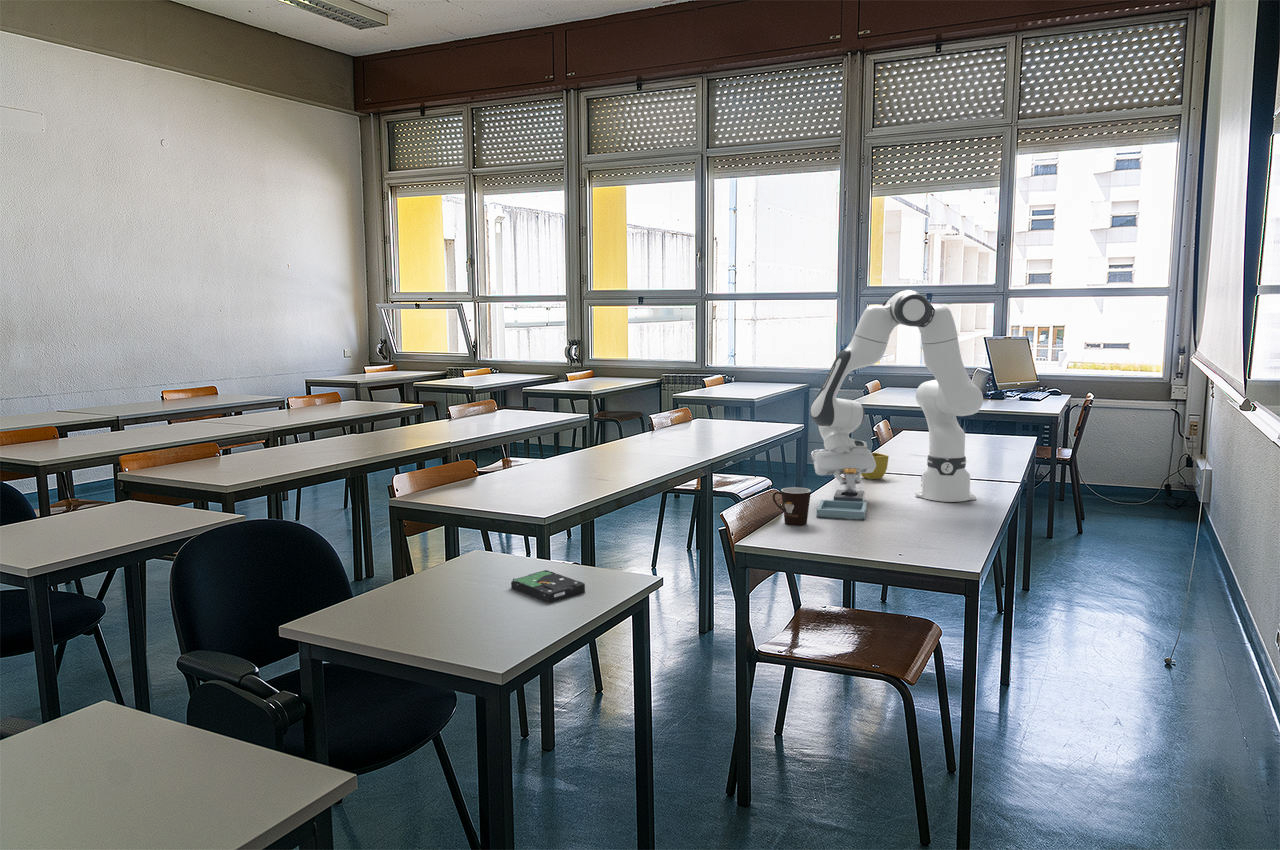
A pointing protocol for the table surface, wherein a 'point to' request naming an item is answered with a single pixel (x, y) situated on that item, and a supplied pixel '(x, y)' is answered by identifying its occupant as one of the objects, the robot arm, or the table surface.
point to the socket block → (841, 497)
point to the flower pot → (878, 467)
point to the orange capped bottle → (850, 481)
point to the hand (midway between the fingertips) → (850, 483)
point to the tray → (842, 509)
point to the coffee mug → (794, 505)
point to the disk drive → (548, 586)
